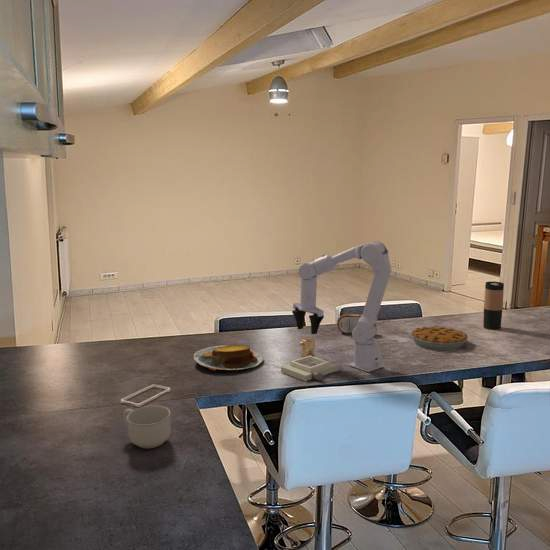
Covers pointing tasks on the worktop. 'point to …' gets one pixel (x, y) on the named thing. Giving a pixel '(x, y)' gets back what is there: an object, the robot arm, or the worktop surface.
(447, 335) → the pie
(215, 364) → the food on plate
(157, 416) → the teacup
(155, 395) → the phone case
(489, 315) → the travel mug
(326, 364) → the cream peg hole base
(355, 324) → the tin
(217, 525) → the worktop surface
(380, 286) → the robot arm
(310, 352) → the spout can
